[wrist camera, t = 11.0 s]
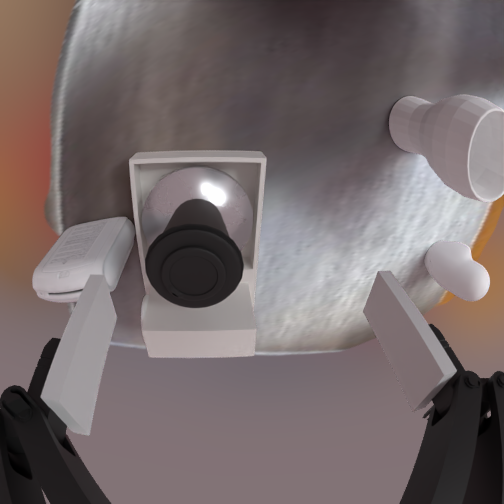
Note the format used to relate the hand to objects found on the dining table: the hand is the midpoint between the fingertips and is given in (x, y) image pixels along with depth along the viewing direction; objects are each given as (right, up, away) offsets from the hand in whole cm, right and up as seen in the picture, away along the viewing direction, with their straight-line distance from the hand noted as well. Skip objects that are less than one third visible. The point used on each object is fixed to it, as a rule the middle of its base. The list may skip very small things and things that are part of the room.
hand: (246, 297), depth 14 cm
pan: (-6, +7, +20) cm, 22 cm away
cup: (+21, +19, +18) cm, 33 cm away
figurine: (+33, +2, +30) cm, 44 cm away
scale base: (-6, +5, +22) cm, 24 cm away
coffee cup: (-6, +5, +18) cm, 19 cm away
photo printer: (-19, +5, +21) cm, 29 cm away
